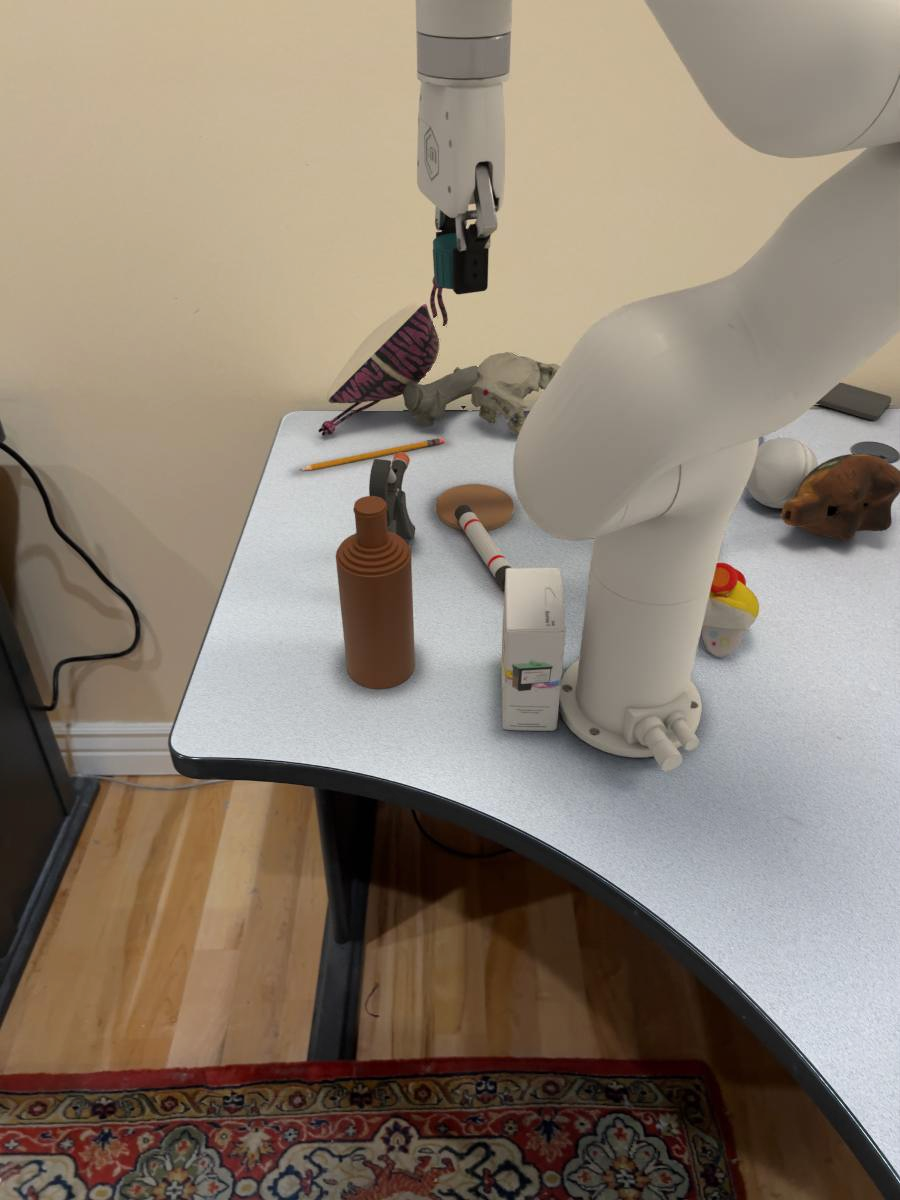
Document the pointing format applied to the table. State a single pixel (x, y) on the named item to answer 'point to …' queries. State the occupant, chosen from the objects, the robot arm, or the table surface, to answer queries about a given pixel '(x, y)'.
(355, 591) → the bottle
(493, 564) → the marker
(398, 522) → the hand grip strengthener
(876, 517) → the decorative turtle
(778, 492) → the bath bomb
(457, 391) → the bone
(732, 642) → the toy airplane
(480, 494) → the coaster
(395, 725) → the table surface
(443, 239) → the cap
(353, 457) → the pencil
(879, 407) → the cell phone
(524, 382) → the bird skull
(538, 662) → the ink box
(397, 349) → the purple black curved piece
